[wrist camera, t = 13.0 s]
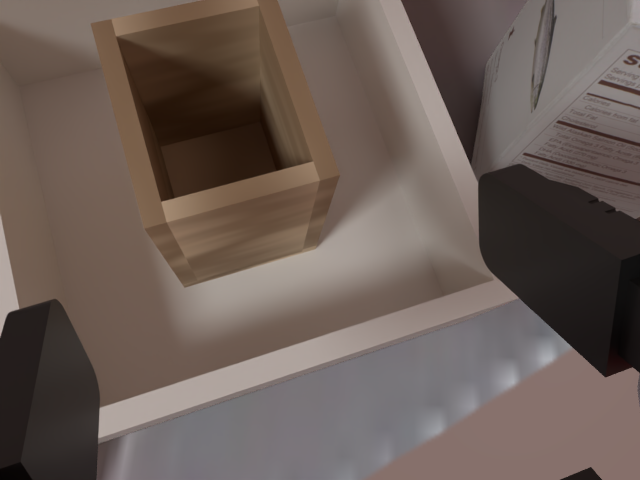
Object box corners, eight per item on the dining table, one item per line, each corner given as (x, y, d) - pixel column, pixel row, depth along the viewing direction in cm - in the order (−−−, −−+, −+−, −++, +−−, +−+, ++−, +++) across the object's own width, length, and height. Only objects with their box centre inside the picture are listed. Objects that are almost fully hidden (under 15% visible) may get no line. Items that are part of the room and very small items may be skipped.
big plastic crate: (84, 448, 22) (19, 464, 16) (6, 87, 25) (-69, -6, 20) (463, 321, 24) (525, 295, 19) (343, 12, 28) (363, -89, 22)
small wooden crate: (184, 287, 23) (144, 228, 15) (145, 143, 24) (90, 23, 17) (315, 249, 24) (340, 175, 16) (269, 113, 25) (272, -15, 17)
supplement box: (481, 62, 28) (646, -196, 16) (625, 100, 28) (894, -126, 16) (458, 197, 26) (626, 18, 14) (613, 238, 26) (913, 96, 14)
